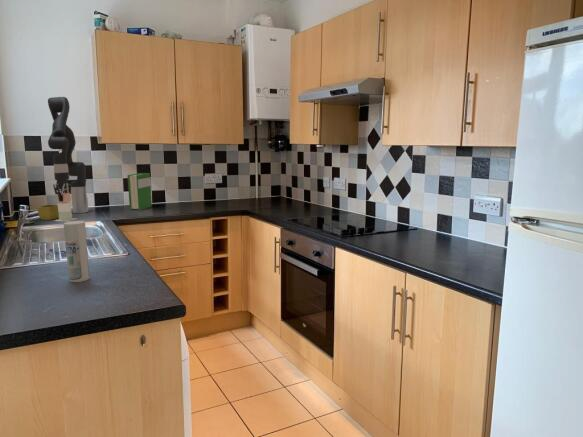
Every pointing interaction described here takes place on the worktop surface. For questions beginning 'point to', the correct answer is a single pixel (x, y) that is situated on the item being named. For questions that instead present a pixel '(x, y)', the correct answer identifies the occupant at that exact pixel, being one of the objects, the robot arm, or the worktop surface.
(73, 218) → the birch board
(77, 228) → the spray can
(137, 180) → the hardback book
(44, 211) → the flower pot
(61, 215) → the sage brick
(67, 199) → the coral brick
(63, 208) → the cream brick
